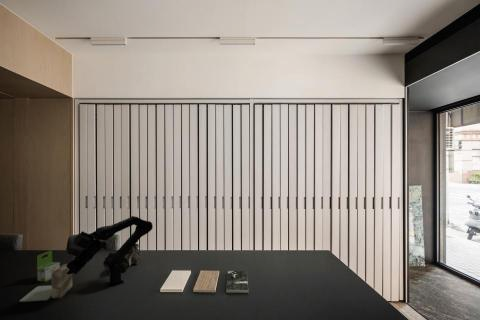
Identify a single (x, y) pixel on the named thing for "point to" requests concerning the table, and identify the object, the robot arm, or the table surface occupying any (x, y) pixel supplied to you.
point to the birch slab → (61, 282)
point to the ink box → (46, 267)
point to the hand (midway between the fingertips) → (67, 273)
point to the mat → (38, 294)
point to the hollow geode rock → (131, 257)
